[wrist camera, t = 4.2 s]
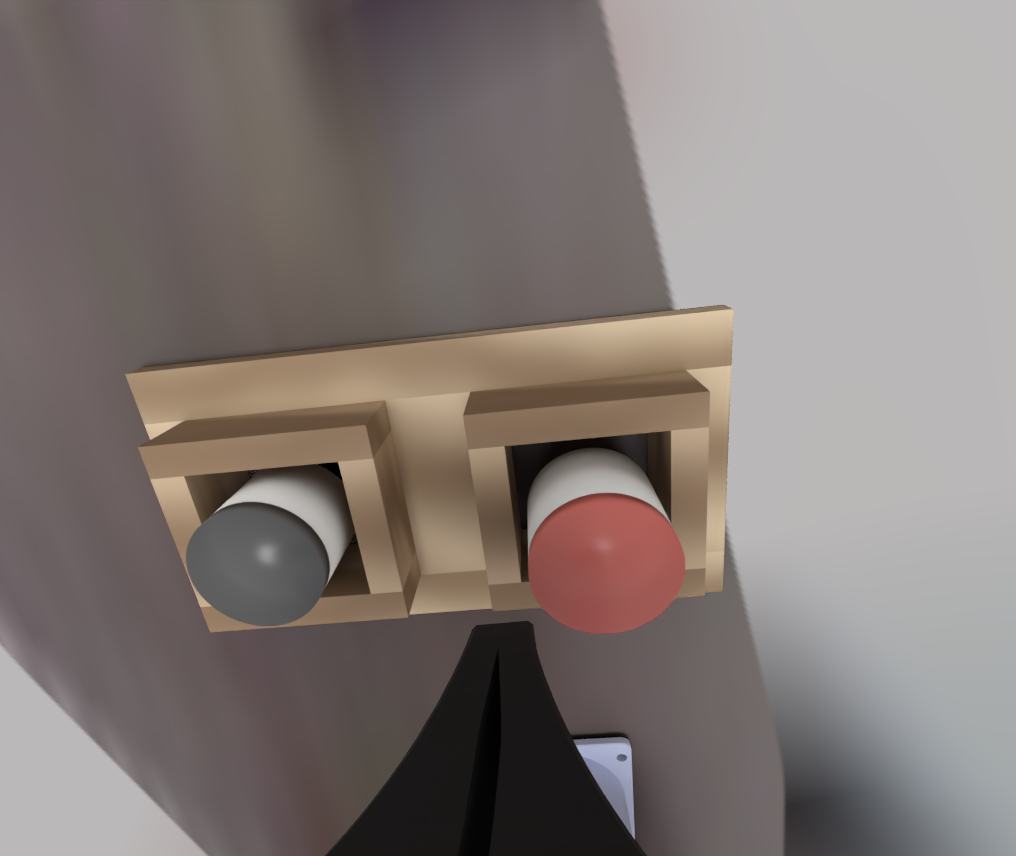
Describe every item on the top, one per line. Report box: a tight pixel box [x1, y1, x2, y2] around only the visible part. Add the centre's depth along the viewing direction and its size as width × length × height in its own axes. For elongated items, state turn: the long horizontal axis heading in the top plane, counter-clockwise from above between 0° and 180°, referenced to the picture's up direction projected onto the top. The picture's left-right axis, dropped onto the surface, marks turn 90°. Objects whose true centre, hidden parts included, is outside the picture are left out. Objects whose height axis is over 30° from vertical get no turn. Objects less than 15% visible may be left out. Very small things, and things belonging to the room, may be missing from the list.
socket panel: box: [125, 305, 734, 632], centre depth 20 cm, size 12×22×4 cm, turn 96°
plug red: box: [527, 448, 685, 634], centre depth 17 cm, size 4×4×4 cm
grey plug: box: [186, 464, 355, 626], centre depth 19 cm, size 4×4×4 cm
